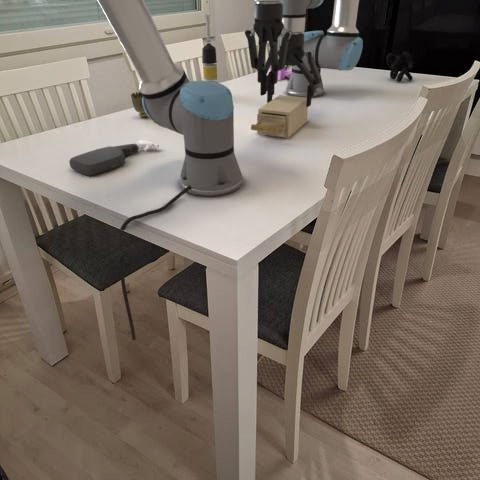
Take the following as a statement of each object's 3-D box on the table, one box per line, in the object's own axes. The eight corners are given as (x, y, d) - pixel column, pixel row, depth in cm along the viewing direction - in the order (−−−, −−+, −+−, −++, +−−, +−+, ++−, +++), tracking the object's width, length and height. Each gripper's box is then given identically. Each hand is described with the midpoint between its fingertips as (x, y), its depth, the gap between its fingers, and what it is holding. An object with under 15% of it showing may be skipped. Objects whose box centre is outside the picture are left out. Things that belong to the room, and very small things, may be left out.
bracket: (280, 80, 204) (280, 64, 200) (270, 78, 207) (270, 62, 203) (295, 74, 213) (295, 59, 209) (285, 73, 216) (285, 58, 212)
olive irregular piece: (129, 117, 158) (125, 94, 154) (142, 112, 164) (139, 90, 159) (146, 120, 155) (143, 97, 151) (158, 114, 161) (156, 92, 156)
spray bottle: (67, 168, 120) (139, 144, 136) (91, 178, 114) (163, 151, 130) (65, 157, 118) (137, 134, 134) (89, 167, 112) (162, 142, 128)
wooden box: (288, 138, 138) (289, 112, 133) (258, 134, 141) (258, 109, 137) (307, 121, 152) (308, 97, 147) (279, 118, 155) (279, 94, 151)
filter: (220, 99, 177) (217, 15, 161) (206, 100, 176) (202, 16, 160) (215, 96, 182) (212, 14, 166) (202, 97, 180) (197, 14, 164)
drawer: (276, 143, 131) (277, 123, 128) (249, 139, 135) (249, 119, 131) (302, 121, 149) (303, 103, 145) (277, 118, 152) (277, 100, 149)
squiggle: (400, 92, 202) (376, 71, 205) (417, 76, 202) (392, 56, 205) (405, 81, 191) (380, 59, 194) (423, 64, 191) (397, 42, 194)
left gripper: (300, 1, 116) (296, 94, 128) (248, 1, 122) (249, 89, 134) (290, 4, 110) (286, 100, 123) (236, 3, 116) (238, 95, 128)
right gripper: (335, 33, 133) (329, 104, 144) (259, 29, 143) (258, 97, 154) (328, 36, 128) (322, 110, 139) (249, 32, 137) (249, 102, 148)
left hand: (267, 94), depth 128 cm, fingers closed
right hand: (288, 103), depth 146 cm, fingers open, 13 cm apart
